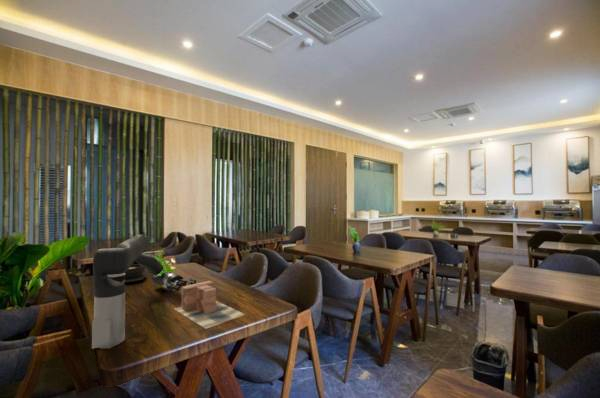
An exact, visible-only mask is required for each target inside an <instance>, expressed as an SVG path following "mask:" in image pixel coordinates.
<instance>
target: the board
mask: <svg viewBox="0 0 600 398" xmlns="http://www.w3.org/2000/svg"><path fill="white" fill-rule="evenodd" d="M174 310H175V311H176V312H178V313H180V314H181V315H182V316H184V317H186V318H188V319H189V320H191V321H192V322H194V323H195V324H198V326H200V327H202V328H204V329H205V330H206V329H210V328H212V327H214V326H217V325H221V324H224V323H226V322H229V321H232V320H234V319H238V318H240V317H243V316H245V315H246V314H245V313H243V312H241V311H240V310H237V309H235V308H232V307H231V306H229V305H226V304H224V303H223V302H220V301H218V300H216V311H214V312H211V313H208V314H204V313H203V312H201V311H199V310H197V309H193V310H190V311H185V310H183V309H181V306H179V307H176V308H174Z"/></svg>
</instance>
